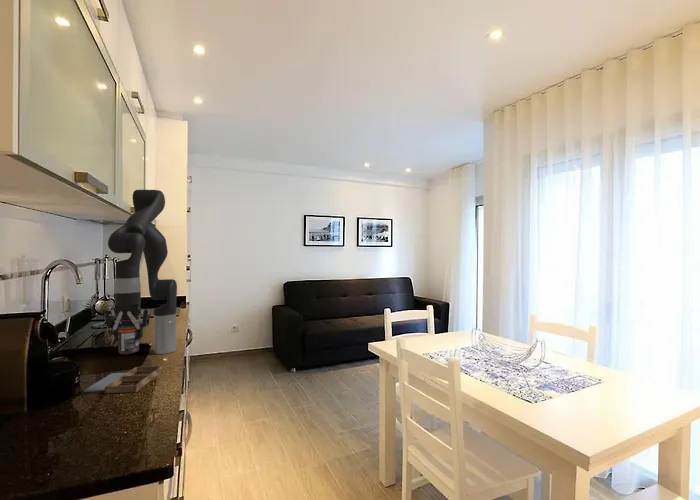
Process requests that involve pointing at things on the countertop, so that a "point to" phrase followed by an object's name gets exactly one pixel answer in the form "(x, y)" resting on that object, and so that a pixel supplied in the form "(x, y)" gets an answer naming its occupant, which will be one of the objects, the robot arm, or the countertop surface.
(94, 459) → the countertop surface
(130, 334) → the supplement bottle
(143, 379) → the two bay tray
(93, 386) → the slate mat
